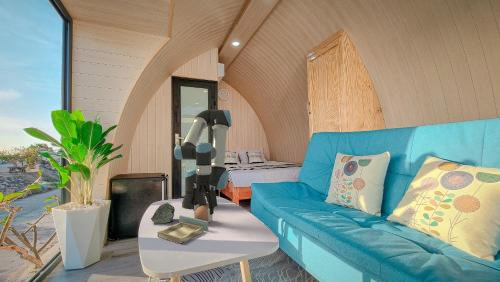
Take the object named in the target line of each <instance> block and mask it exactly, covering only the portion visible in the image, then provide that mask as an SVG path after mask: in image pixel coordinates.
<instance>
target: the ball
mask: <svg viewBox="0 0 500 282" xmlns="http://www.w3.org/2000/svg"><path fill="white" fill-rule="evenodd" d="M208 208H209V205H206V206H205V205H202V206H200V207H198V208H197V210H196V212H195V217H196V219H199V220H204V221H208Z"/></svg>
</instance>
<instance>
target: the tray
mask: <svg viewBox="0 0 500 282" xmlns="http://www.w3.org/2000/svg"><path fill="white" fill-rule="evenodd" d="M203 228H204V227H200V226H196V225H192V224H188V223H184V222H180V223H179V222H178V223H175V224H173V225H171V226H168V227H166V228H164V229H162V230H159V231H157V237H158V238H160V237H161V239H163V238H165V239H164V240H166V239H168V240H167V241H170V240H171V242H173V241H174V243H176V242H177V243H176V244H179V243H180V245H182V244H184V243H185V242H188V241H189V240H191V239H193V238H195V237H197V236H199V235H200V234H203V233H204V230H203ZM183 242H184V243H183ZM181 243H182V244H181Z"/></svg>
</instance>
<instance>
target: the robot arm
mask: <svg viewBox="0 0 500 282" xmlns="http://www.w3.org/2000/svg"><path fill="white" fill-rule="evenodd" d="M232 122H233V121H232V114H231V112H230V110H229V109H224V108H223V109H204V110H202V111H201V112H199V113H198V114H197V115H196V116H194V118H193V120H192V125H191V128H190V129H189V131H188V132H187V135H186V137H185V139H184V141H183V143H182V144H181V145H176V146H174V151H173V154H174V158H175V159H176V160H182V161H185V160H186V161H188V160H189V161H191V160H193V161H195V168H191V169H187V170H186V171H185V173H184V174H185V175H184V176H185V177H184V195H183V199H182V202H181V208H184V209H188V210H189V209H190V210H193V218H195V219H196V217H195V212H196V210H197V208H198V207H200V206H202V205H205V206H208V207H209V208H208V223H210V222H212V221H213V215H214V214H215V212H214V211H215V208H216V207H218V201H217V192H216V190H225V189H226V187H227V186H228V182H229V175H230V174H229V171H228V170H227V167H226V165H225V159H226V158H225V157H226V144H227V143H226V142H227V132H228V131H229V130H230V128H231V127H232V125H233V124H232ZM207 127H211V129H212V130H213V135H212V143H211V142H199V141H200V138H201V136H202V134H203V132H204V130H205V129H206V128H207Z"/></svg>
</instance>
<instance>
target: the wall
mask: <svg viewBox="0 0 500 282" xmlns="http://www.w3.org/2000/svg"><path fill="white" fill-rule="evenodd" d="M178 220H179V222H178V223H180V222H184V223H188V224H192V225H196V226H200V227H204V228H203V232H204V231H205V232H207V231H209V222H208V221H204V220H199V219H195V218H194V217H190V216H187V215H182V214H181V215H179V217H178Z"/></svg>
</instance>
